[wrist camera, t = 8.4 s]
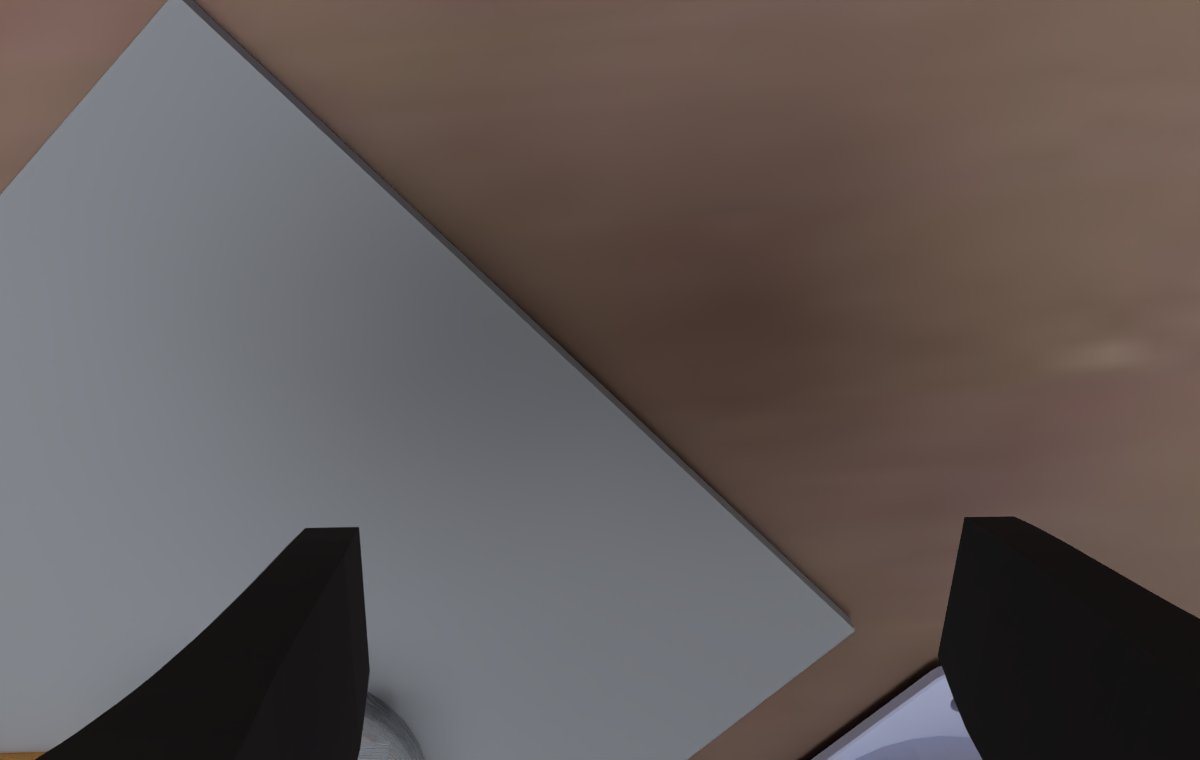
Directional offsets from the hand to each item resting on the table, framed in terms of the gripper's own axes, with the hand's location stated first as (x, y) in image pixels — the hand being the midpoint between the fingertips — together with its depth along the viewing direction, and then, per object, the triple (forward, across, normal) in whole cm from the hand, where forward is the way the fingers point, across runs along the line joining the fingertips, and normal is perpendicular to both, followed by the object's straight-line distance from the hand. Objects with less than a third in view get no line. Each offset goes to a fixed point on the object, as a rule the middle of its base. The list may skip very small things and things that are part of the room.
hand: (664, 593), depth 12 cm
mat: (+9, +8, +8) cm, 15 cm away
